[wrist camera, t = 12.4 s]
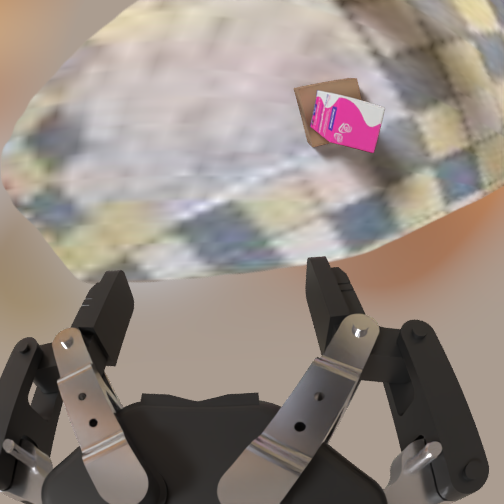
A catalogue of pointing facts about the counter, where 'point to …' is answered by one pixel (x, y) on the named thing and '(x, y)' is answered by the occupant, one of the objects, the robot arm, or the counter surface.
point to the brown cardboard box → (308, 98)
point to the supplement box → (347, 120)
